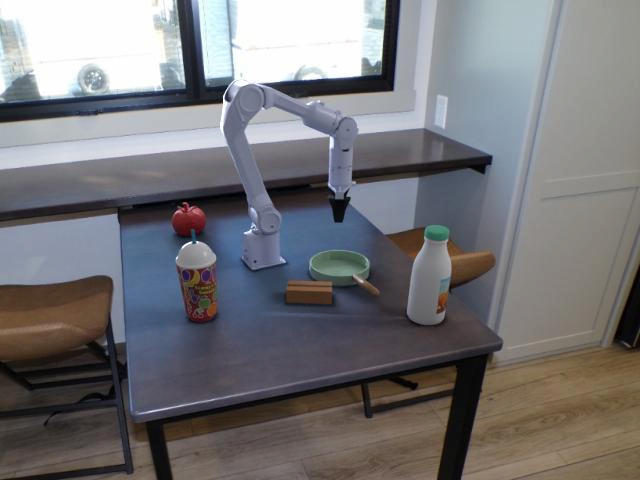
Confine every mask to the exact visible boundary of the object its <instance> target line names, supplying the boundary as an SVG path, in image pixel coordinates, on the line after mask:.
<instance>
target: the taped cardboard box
mask: <svg viewBox="0 0 640 480" xmlns="http://www.w3.org/2000/svg"><path fill="white" fill-rule="evenodd" d="M285 295H286V303H291V304H317V305H318V304H321V305H332V301H333V285H332V282H320V281H317V280H288V281H287V286H286V292H285Z"/></svg>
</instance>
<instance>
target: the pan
mask: <svg viewBox="0 0 640 480" xmlns="http://www.w3.org/2000/svg"><path fill="white" fill-rule="evenodd" d="M308 265H309V266H308V267H309V268H308V272H309V275H310V277H311V278H312V279H314V281H320V282H332V286H335V287H347V286H354V285H358V284H357V283H356V282H355V281H353V279H352V276H353V275H354V274H358V275H360V276H361V277H362V278H363V279H365V280H367V279H368V277H370V270H371V268H370V267H371V262H370V260H369V258H368V257H366V256H365V255H364V254H361V253H359V252H356V251H351V250H346V249H330V250H325V251H321V252H318V253H316V254H314V255H312V257H310V259H309V263H308Z"/></svg>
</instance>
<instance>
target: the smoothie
mask: <svg viewBox="0 0 640 480" xmlns="http://www.w3.org/2000/svg"><path fill="white" fill-rule="evenodd" d="M191 234H192V236H191V241H189V242H187V243H185V244H184V245H183V246H182V247H181V248H180V249H179V251H178V253H177V256H176V257H175V261H174V262H175V265H176V271H177V275H178V280H179V285H180V291H181V295H182V299H183V305H184V310H185V314H186V315H187V316H188V318H189V319H190V320H191V321H193V322H197V323H205V322H208V321H211V320H212V319H214V318H215V316H216V313H217V311H218V286H217V284H218V283H217V282H218V281H217V255H216V254H215V253H214V251H213V250H212V248H211V247H210V246H209V245H208V244H206V243H205V242H202V241H197V240H196V234H195V232H194V229H192V230H191Z"/></svg>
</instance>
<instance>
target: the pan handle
mask: <svg viewBox="0 0 640 480" xmlns="http://www.w3.org/2000/svg"><path fill="white" fill-rule="evenodd" d="M352 279H353V281H355V282H356V283H357V284H356V285H358V286H359V287H361V288H362V289H363V290H364V291H365V292H366V293H368V294H369V295H370V296H372V298H375V299H377V298H379V297H380V295H381V291H380V290H379V289H378V288H376V287H375V286H374V285H372V284H371V282H369V281H367V279H363V278H362V277H361V276H360V275H358V274H354V275H353V276H352Z"/></svg>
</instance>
